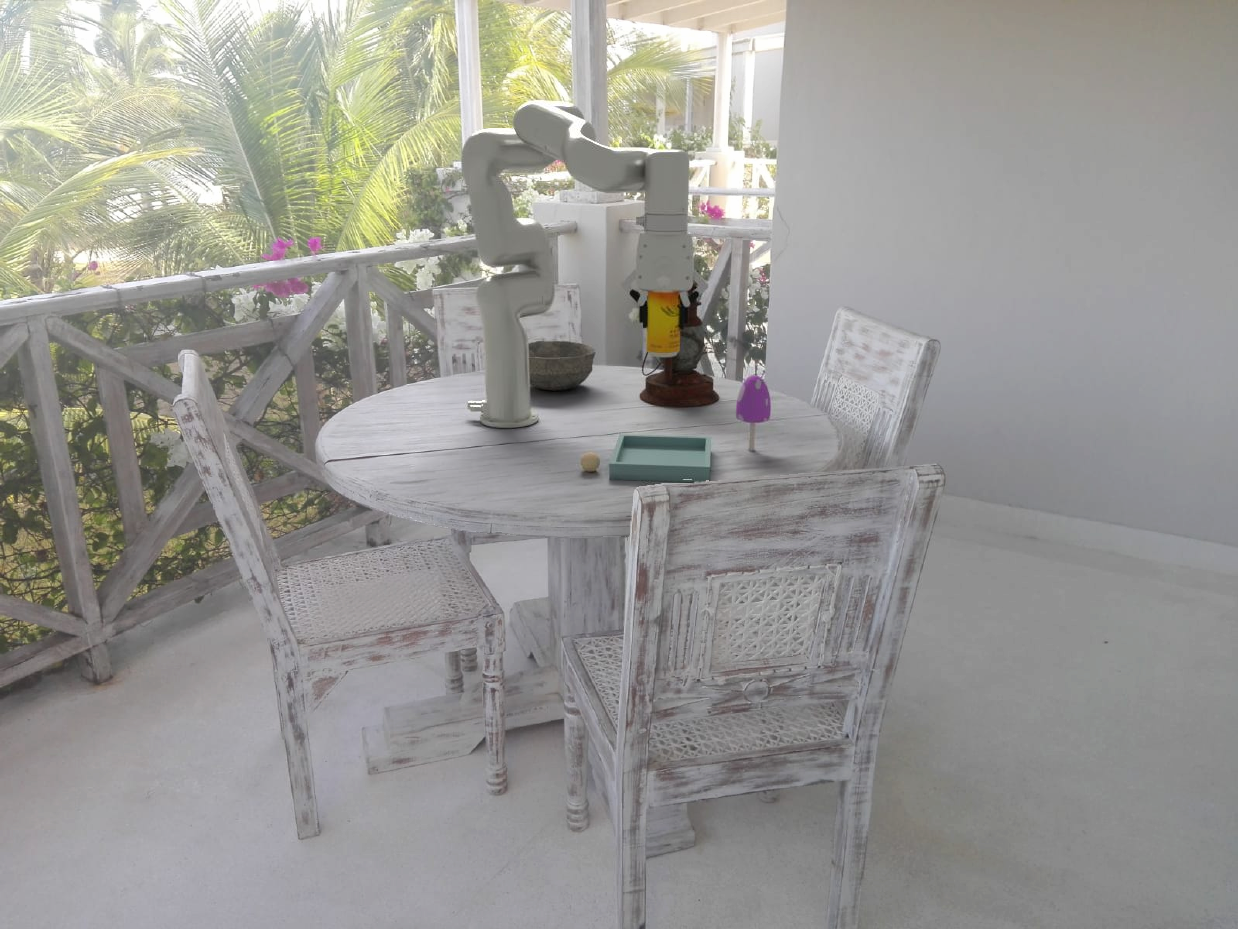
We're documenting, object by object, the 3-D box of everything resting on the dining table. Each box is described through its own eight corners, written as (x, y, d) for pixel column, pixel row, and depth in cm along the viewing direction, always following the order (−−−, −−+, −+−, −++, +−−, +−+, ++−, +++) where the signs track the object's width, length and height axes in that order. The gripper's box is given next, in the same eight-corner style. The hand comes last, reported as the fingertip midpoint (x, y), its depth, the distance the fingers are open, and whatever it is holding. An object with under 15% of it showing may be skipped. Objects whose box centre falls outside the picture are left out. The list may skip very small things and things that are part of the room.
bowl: (594, 399, 222) (594, 358, 219) (507, 399, 223) (505, 357, 219) (597, 378, 242) (597, 340, 239) (517, 378, 242) (516, 339, 239)
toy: (760, 457, 182) (763, 381, 177) (728, 451, 185) (731, 376, 180) (773, 448, 187) (778, 374, 182) (743, 442, 191) (746, 370, 186)
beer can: (677, 358, 167) (679, 273, 162) (643, 356, 169) (644, 272, 164) (681, 351, 173) (684, 268, 168) (649, 349, 174) (650, 267, 169)
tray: (609, 479, 170) (609, 463, 169) (619, 448, 187) (619, 434, 186) (709, 482, 168) (709, 466, 167) (710, 451, 185) (711, 436, 184)
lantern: (657, 384, 236) (659, 262, 227) (729, 392, 229) (734, 267, 219) (626, 402, 220) (626, 272, 210) (703, 411, 213) (707, 277, 203)
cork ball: (579, 474, 173) (579, 455, 171) (582, 467, 176) (581, 449, 175) (598, 474, 172) (598, 456, 171) (601, 468, 176) (601, 449, 174)
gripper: (614, 225, 161) (613, 330, 166) (715, 227, 159) (711, 332, 165) (618, 221, 168) (618, 322, 174) (716, 223, 166) (712, 324, 172)
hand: (663, 326), depth 169 cm, fingers closed on beer can, 6 cm apart
